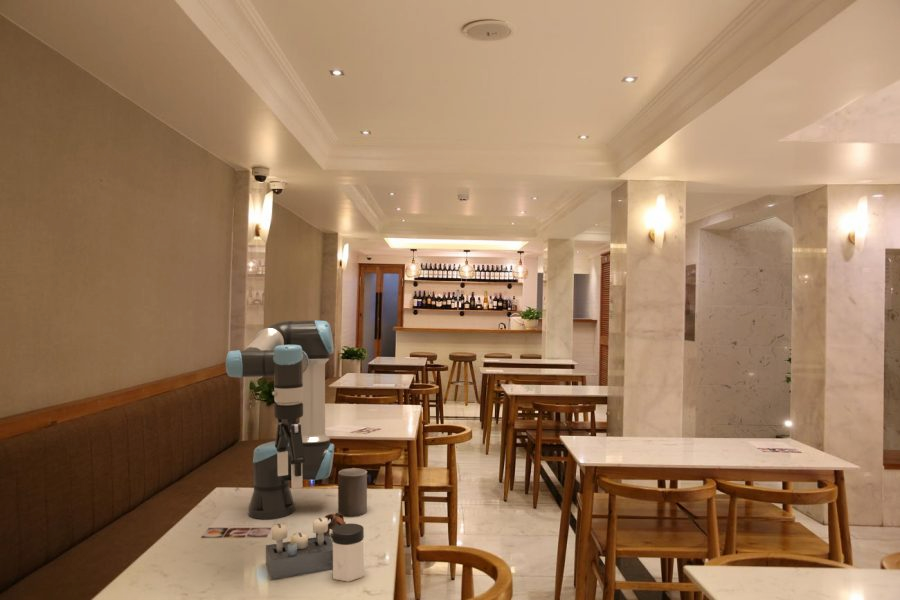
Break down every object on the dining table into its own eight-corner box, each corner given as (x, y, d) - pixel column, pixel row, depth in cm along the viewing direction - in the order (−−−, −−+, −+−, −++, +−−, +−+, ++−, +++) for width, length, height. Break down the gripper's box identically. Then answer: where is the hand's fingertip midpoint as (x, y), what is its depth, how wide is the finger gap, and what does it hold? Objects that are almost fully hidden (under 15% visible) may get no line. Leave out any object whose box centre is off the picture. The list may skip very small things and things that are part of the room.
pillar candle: (338, 518, 206) (339, 472, 206) (337, 508, 215) (337, 464, 215) (368, 516, 208) (368, 471, 208) (365, 506, 218) (365, 463, 218)
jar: (325, 578, 162) (324, 532, 162) (341, 565, 170) (341, 521, 170) (355, 583, 159) (354, 536, 159) (371, 570, 167) (370, 525, 166)
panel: (266, 563, 172) (265, 545, 172) (327, 552, 178) (327, 535, 178) (271, 580, 162) (271, 560, 162) (336, 568, 168) (336, 549, 168)
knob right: (312, 547, 174) (311, 518, 174) (326, 544, 175) (326, 515, 175) (314, 552, 170) (314, 522, 170) (329, 550, 172) (329, 520, 171)
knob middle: (291, 562, 171) (291, 533, 171) (306, 560, 173) (306, 530, 173) (294, 568, 168) (294, 538, 168) (309, 565, 169) (309, 535, 169)
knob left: (271, 554, 169) (270, 524, 169) (286, 551, 171) (285, 521, 171) (273, 559, 166) (272, 529, 166) (288, 557, 167) (288, 526, 167)
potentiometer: (287, 553, 166) (286, 536, 166) (296, 551, 167) (296, 534, 167) (288, 556, 164) (288, 539, 164) (297, 555, 165) (297, 537, 165)
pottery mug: (348, 546, 184) (334, 524, 183) (321, 558, 186) (307, 536, 184) (357, 521, 196) (343, 500, 194) (331, 533, 198) (318, 512, 196)
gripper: (263, 397, 178) (264, 472, 178) (287, 411, 156) (288, 496, 156) (289, 395, 181) (290, 468, 181) (317, 408, 160) (318, 491, 160)
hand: (289, 481), depth 169 cm, fingers open, 13 cm apart
